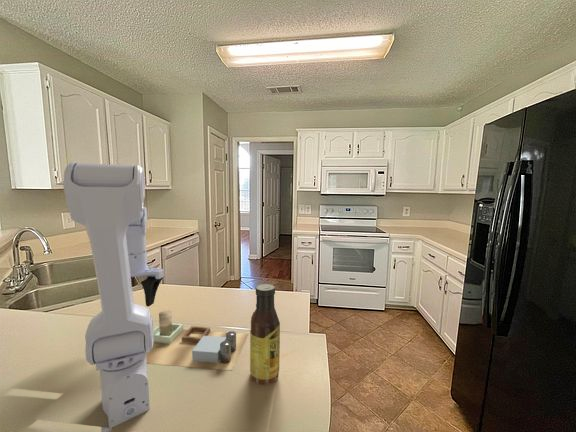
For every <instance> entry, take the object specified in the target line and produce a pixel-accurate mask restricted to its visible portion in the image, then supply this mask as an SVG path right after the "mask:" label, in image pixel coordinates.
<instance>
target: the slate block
mask: <svg viewBox="0 0 576 432" xmlns="http://www.w3.org/2000/svg"><path fill="white" fill-rule="evenodd" d="M223 341H226V337H215V336H203V337H202V338H201V340H200V341H199V342H198V344H197V345H196V346H195V348H194V349H193V350H192V359H193V361H199V362H211V363H218V362H219V360H220V343H221V342H223Z"/></svg>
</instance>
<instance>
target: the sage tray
mask: <svg viewBox="0 0 576 432" xmlns="http://www.w3.org/2000/svg"><path fill="white" fill-rule="evenodd" d="M183 330H184V323H173V322H172V334H171V335H170V336H160V329H159V325H157V326H156V327H154V328H153V343H162V344H171V343H172V342H173V341H174V340H175V339H176V338H177V337H178V336H179V334H180V333H181V332H182V331H183Z"/></svg>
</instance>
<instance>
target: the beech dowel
mask: <svg viewBox="0 0 576 432" xmlns="http://www.w3.org/2000/svg"><path fill="white" fill-rule="evenodd" d="M172 318H173V315H172V310H170V309H166V310H165V309H164V310H163V311H160V312H159V313H158V320H159V321H158V323H159V329H160V336H170V335H171V334H172V323H173V319H172Z"/></svg>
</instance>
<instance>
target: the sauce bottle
mask: <svg viewBox="0 0 576 432" xmlns="http://www.w3.org/2000/svg"><path fill="white" fill-rule="evenodd" d="M275 294H276V286H274V285H273V284H269V283H262V284H259V285H256V287H255V295H256V304H255V307H256V308H255V309H254V311H253V312H252V315H251V316H250V317H251V318H250V319H251V320H250V335H249V342H250V343H249V348H250V349H249V352H250V353H249V364H250V365H249V368H250V369H249V371H250V378H251V380H252V382H254V383H255V384H258V385H261V386H266V385H267V386H268V385H270V384H272V383H274V382H275V381H277V380H278V378H279V373H280V358H281V357H280V353H281V352H280V350H281V348H280V347H281V345H280V344H281V338H280V337H281V336H280V335H281V322H280V320H279V317H278V313H277V310H276V307H275Z"/></svg>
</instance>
